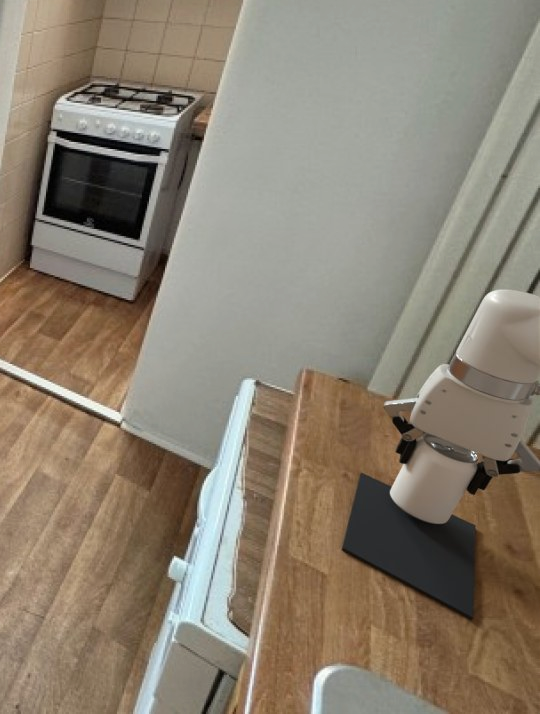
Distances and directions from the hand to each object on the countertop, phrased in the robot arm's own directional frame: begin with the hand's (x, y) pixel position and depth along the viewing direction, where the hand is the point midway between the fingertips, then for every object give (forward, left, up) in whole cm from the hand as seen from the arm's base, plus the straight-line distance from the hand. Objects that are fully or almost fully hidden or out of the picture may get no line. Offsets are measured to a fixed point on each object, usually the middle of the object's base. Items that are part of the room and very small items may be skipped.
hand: (436, 472), depth 89 cm
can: (0, 0, -7) cm, 7 cm away
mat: (0, +6, -9) cm, 11 cm away
